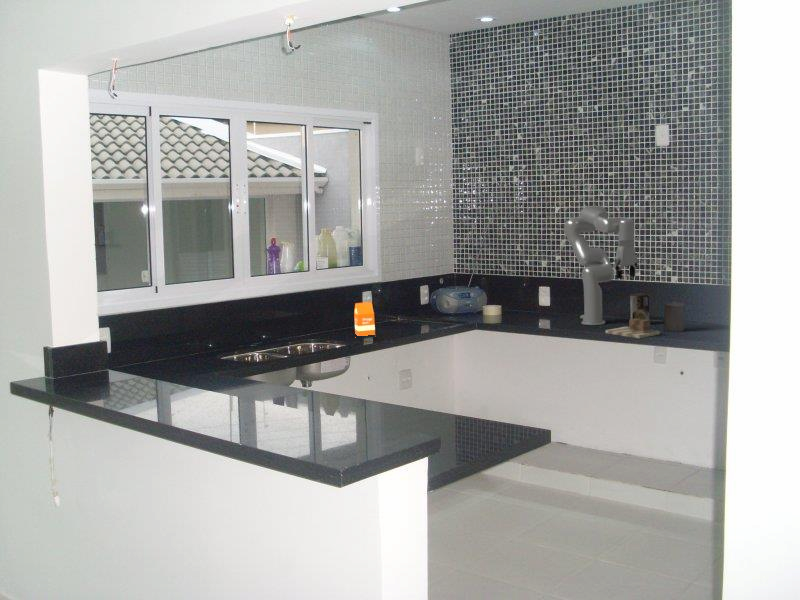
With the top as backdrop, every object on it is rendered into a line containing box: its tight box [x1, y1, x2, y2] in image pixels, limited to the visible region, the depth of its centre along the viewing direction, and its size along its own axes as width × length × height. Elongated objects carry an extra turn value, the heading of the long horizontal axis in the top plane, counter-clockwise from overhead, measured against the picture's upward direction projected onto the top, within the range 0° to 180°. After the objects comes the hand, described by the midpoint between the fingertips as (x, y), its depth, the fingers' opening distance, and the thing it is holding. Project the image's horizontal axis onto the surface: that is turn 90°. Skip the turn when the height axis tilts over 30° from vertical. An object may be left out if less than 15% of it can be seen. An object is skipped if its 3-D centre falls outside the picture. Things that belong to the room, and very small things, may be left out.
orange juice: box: [353, 301, 376, 336], centre depth 451 cm, size 8×9×20 cm
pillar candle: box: [663, 301, 685, 333], centre depth 440 cm, size 10×10×15 cm
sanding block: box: [628, 318, 651, 333], centre depth 432 cm, size 9×5×6 cm, turn 34°
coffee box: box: [629, 292, 650, 320], centre depth 462 cm, size 9×6×16 cm
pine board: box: [604, 326, 661, 339], centre depth 437 cm, size 22×15×2 cm
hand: (625, 277), depth 442 cm, fingers open, 9 cm apart
